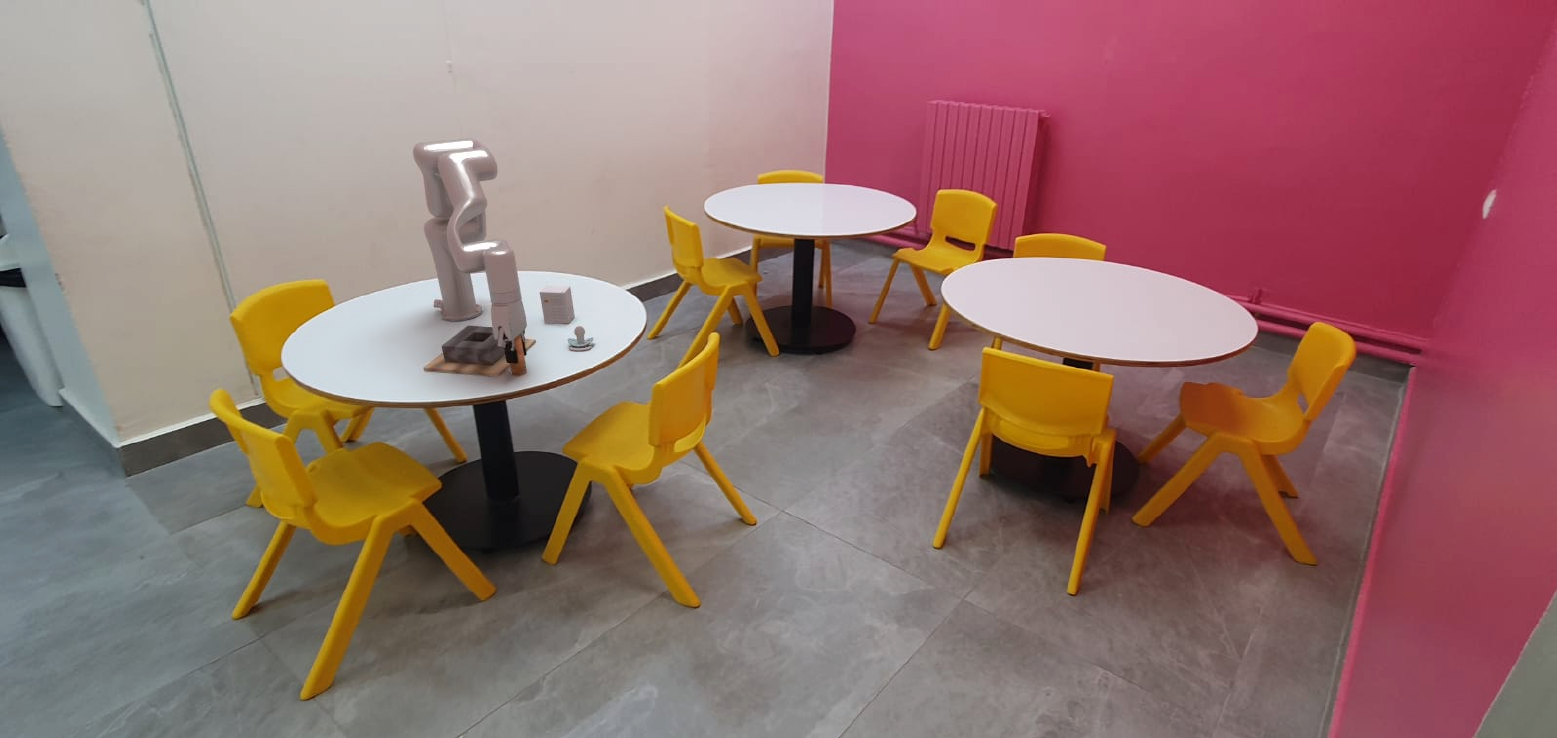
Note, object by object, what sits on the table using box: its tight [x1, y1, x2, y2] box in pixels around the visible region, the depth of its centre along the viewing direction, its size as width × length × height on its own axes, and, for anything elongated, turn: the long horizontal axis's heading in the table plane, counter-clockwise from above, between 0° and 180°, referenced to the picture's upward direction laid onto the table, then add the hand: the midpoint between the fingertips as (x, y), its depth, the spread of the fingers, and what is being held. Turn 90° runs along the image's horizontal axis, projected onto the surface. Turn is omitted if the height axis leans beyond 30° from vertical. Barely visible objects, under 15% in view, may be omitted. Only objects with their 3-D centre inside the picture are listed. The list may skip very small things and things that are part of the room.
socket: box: [423, 325, 537, 378], centre depth 208 cm, size 22×22×6 cm
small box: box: [539, 285, 576, 325], centre depth 230 cm, size 8×6×10 cm
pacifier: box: [567, 325, 594, 352], centre depth 214 cm, size 7×6×6 cm
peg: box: [506, 334, 528, 377], centre depth 198 cm, size 4×4×12 cm
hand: (516, 358), depth 198 cm, fingers closed on peg, 4 cm apart
